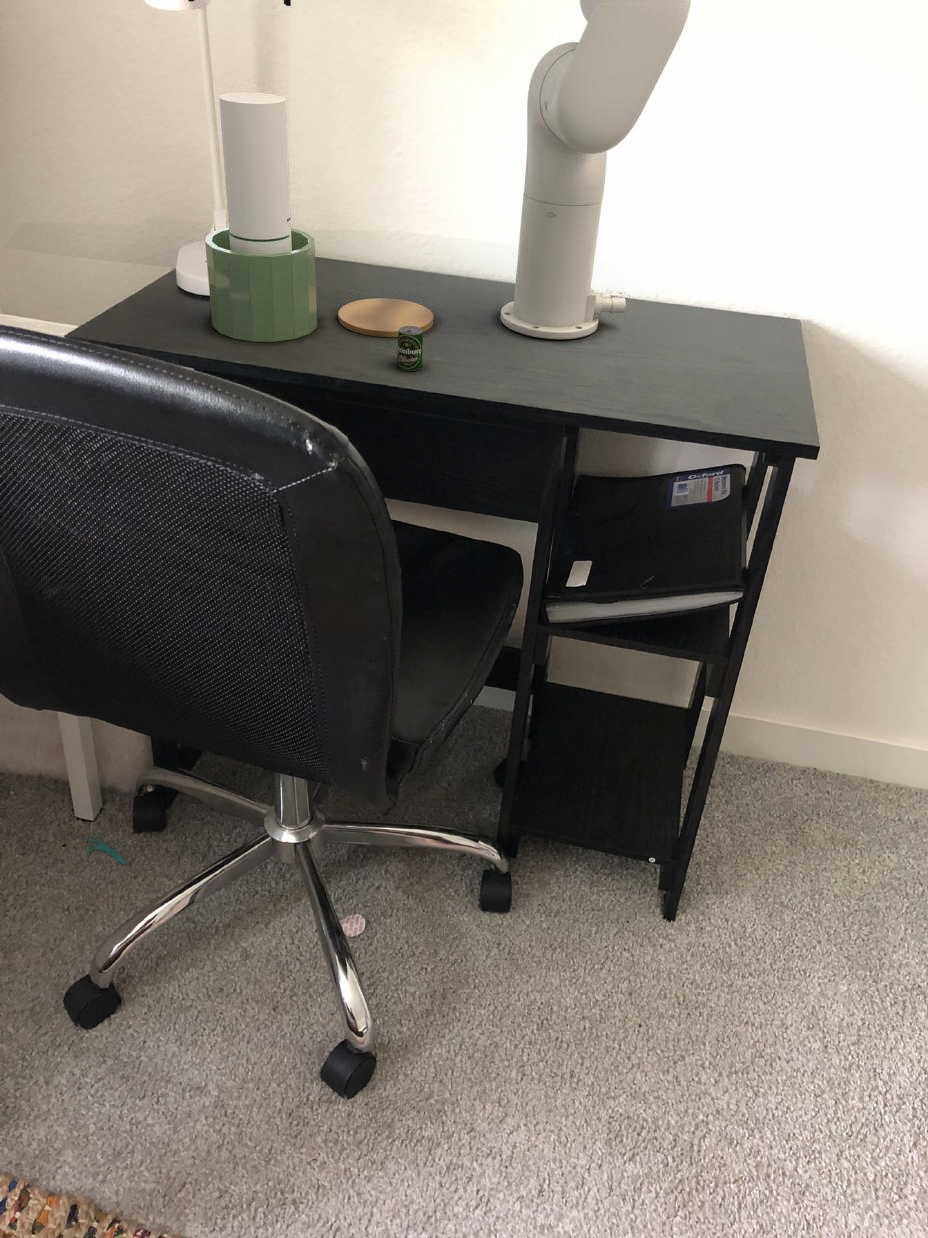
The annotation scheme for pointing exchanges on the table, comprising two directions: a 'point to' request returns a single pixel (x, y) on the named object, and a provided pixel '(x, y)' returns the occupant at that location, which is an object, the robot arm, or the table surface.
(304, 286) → the crock
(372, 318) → the coaster
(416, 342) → the beer can
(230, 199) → the cylindrical container
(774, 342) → the table surface
